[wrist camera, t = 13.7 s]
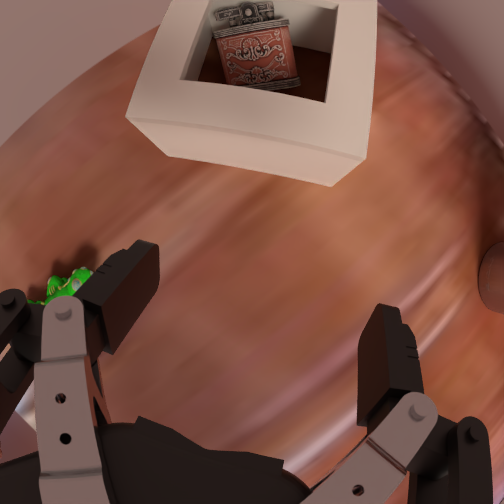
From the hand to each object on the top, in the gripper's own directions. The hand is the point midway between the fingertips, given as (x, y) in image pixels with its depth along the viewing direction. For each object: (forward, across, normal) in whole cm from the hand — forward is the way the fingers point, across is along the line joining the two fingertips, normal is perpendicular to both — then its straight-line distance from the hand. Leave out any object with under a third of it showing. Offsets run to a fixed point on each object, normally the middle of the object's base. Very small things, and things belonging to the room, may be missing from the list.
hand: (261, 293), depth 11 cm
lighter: (+27, +6, -4) cm, 28 cm away
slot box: (+28, +6, -4) cm, 29 cm away
